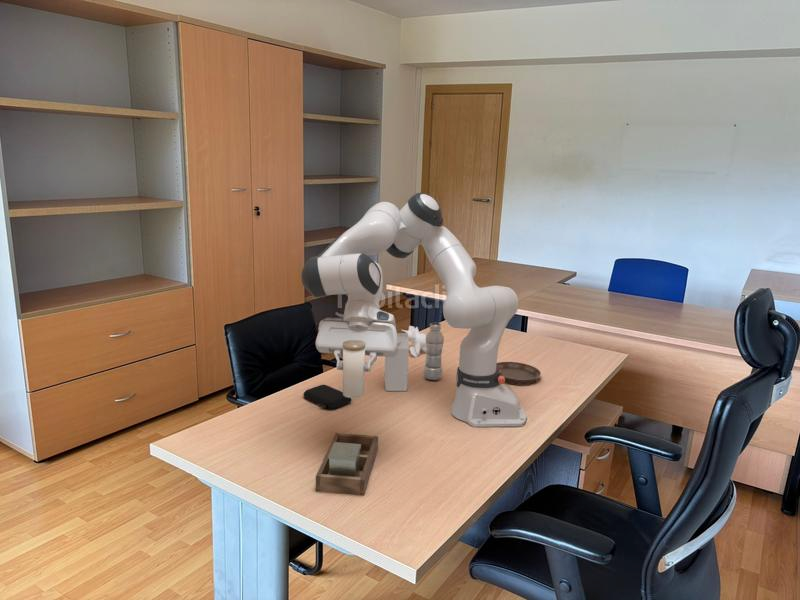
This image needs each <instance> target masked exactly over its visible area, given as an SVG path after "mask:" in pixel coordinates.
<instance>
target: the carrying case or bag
mask: <svg viewBox="0 0 800 600" xmlns="http://www.w3.org/2000/svg"><path fill="white" fill-rule="evenodd" d="M302 394H303V397H304V399H306V400H308V401H310V402H312V403H314V404H316V405H317V406H318V407H320V408H324V409H327V410H330V411H331V410H333V409H334V410H336V409H339V408H341V406H342V407H344V406H346V405H349V404H350V403H351V402H352V399H353V398H348V397H345V396H344V395H343V391H341V390H339V389H337V388H334V387H332V386H329V385H327V384H320V385H317V386H314V387H312V388H307V389H306V390H305V391H304V392H303V393H302ZM334 410H333V411H334Z"/></svg>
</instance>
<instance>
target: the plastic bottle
mask: <svg viewBox="0 0 800 600" xmlns="http://www.w3.org/2000/svg"><path fill="white" fill-rule="evenodd" d="M441 326H442V325H441V323H440V322H431V323H429V330H430V331H429V332H428V333H427V334H426V335H427V336H426V353H425V354H426V358H425V365H424V368H423V376H424V378H425V379H426V380H429V381H439V380H440V379H441V377H443V376H442V375H443V366H442V365H443V364H442V363H443V362H442V355H443V347H444V342H445V338H444V335H443V333H442V332H441V329H442V328H441Z"/></svg>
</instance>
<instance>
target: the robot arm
mask: <svg viewBox="0 0 800 600" xmlns="http://www.w3.org/2000/svg"><path fill="white" fill-rule="evenodd" d="M442 212H443V211H442V209H441V206H440V204H439V202H438V201H437V200H436V199H435V198H434V197H433V196H431V195H429V194H427V193H426V192H425V193H424V192H417V193H415V194H414V195H412V196H411V197H410V198H409V199H408V200H407V202H406V203H405V204H404V205H403V206H402V208H401V209H400V210H399V208H398V207H397V206H396V205H395V204H394V203H391V202H389V201H380V202H377V203H376V204H374V205H372V207H370V208H369V209H368V210H367V211H365V214H364V215H363V217H361V219H360V220H358V222H356V223H355V224H354V225H353V226H352V227H350V228H348V229H346V231H344V232H343V233H341V234H340V235H338V236H337V237H336V238H334V240H333V241H331V243H329V244H328V245H327V247H325V248H324V249H323V250H322V251H321V252H320V253H319V254H318V255H317V256H312V257H310V258H309V259H307V261H306V262H305V264H304V265H303V268H302V270H301V281H302V285H303V288H304V289H305V290H306V291H307V292H308V293H309V294H310V295H312V296H314V297H315V298H321V297H326V296H332V295H335V296H336V295H345V294H347V297H348V298H347V301H346V303H345V307H344V313H343V317H329V316H328V317H326V318H323V319H321V320H320V322H318V323H319V324H318V330H317V331H318V333H317V336H316V338H315V342H314V343H315V347H316V350H317V351H318V352H319V353H322V354H323V353H325V354H334V357H335V359H336V370H339V371H340V370H341V371H343V360H340V358H341V357H342V355H343V342H345V341H349V340H359V341H363V342H365V356H370V358H369V360H368V362H367V361H365V363H364V371H365V372H366V373H367V372H368V373H369V372H371V371H372V370H371V369H372V366H373V365H374V364H375V362H376V361H377V359H378V357H382V358H385V357H395V356H396V355H397V354H398V337H397V333H398V331H397V327H396V324H397V323H396V319H395V316H394V314H392V313H389V312H387V311H384V310H382V309H381V308H380V302H381V300H382V296H383V287H384V284H383V283H384V277H383V269H382V267H381V265H380V264H379V263H378V262H377V261H375V260H373V258H371V257H370V256H373V255H378V254H382V253H384V252H387V253H388V254H389V255H390V256H391V257H394V258H397V259H405V258H407V257H409V256H411V254H413V252H414V250H415V249H416V248H418V247H419V246H422V248H423V250H424V252H425V255H426V256H427V259H428V260H429V262H430V264H431V266H432V268H433V269H434V270H435V272H436V274H437V276H438V277H439V279H440V281H441V282H442V284H443V286H444V288H445V293H446V298H445V300H444V302H443V305H442V313H443V318H444V320H445V322H446V323H447V324H448V325H449V326H450V327H452V328H454V329H468V330H469V329H470V330H469V332H468V333H467V334H466V335H465V337H463V339H462V340H461V343H460V346H459V359H458V361H459V362H458V367H457V370H456V375H455V376H456V378H455V379H456V380H455V382H456V383H455V384H456V391H455V396H454V400H453V403H452V406H451V408H450V413H451V415H452V416H453V417H455V418H456V419H458V420H460V421H463V422H465V423H467V424H468V425H470V426H471V427H475V428H476V427H477V428H481V427H482V428H483V427H484V428H485V427H486V428H487V427H490V428H491V427H523V426H525V424H526V422H527V413H526V410H525V409H524V408H523V407H522V406H520V401H519V398H518V396H517V394H516V392H515V391H514V390H512V389H511V388H510V387H509V386H507V385H506V383H505V378H504V377H503V374H502V373H501V371H500V370H499V371H498V370H497V369H496V365H497V363H498V354H499V346H500V343H501V341H502V337H503V334H504V331H505V329H506V327H507V326H508V323H509V322H510V320H511V319H513V317H514V316H515V315H516V313H517V312H518V310H519V298H518V295H517V293H516V292H515V290H513V288H511V287H508V286H503V285H489V286H483V287H480V286H478V285H477V284H476V282H475V281H474V278H475V276H476V274H477V264H476V262H475V261H474V260H473V258H472V257H471V256H470V254H469V253H468V251H467V250H466V249H465V247H464V246H463V244H462V243H461V241H460V240H459V239H458V238H457V237H456V236H455V235H454V233H452V232H451V231H450V230H449V229H448V228H447V227H446V226H443V224H444V218H443V215H442V214H443V213H442Z"/></svg>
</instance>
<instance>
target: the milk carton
mask: <svg viewBox="0 0 800 600" xmlns="http://www.w3.org/2000/svg"><path fill="white" fill-rule="evenodd" d="M397 337H398V354H397V355H396V356H395V357H384V389H385V391H386V392H407V391H408V379H409V377H408V376H409V375H408V374H409V373H408V372H409V352H410V348H409V346H410V345H409V341H408V333H406V332H397Z"/></svg>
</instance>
